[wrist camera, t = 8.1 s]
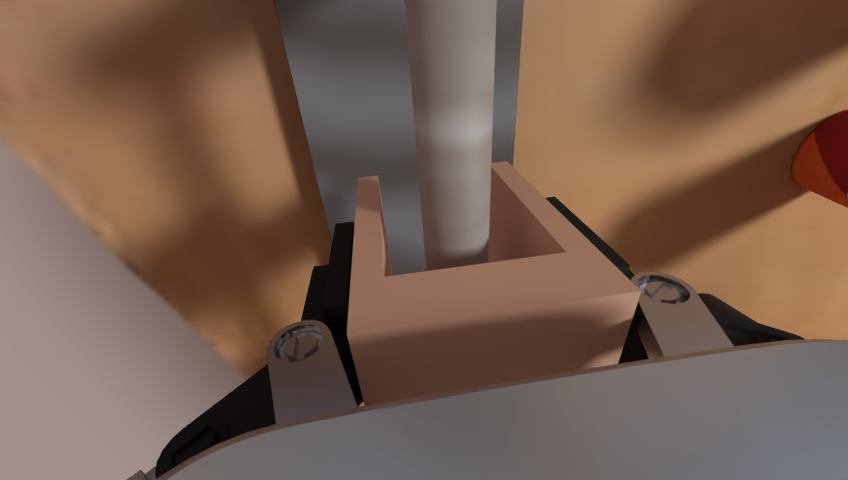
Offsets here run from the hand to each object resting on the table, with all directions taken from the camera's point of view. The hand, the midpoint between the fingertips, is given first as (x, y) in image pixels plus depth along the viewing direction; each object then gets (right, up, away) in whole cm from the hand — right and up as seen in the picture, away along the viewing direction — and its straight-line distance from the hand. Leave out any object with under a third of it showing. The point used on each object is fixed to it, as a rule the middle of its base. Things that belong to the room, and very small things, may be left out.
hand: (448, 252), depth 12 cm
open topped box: (0, +1, +2) cm, 2 cm away
